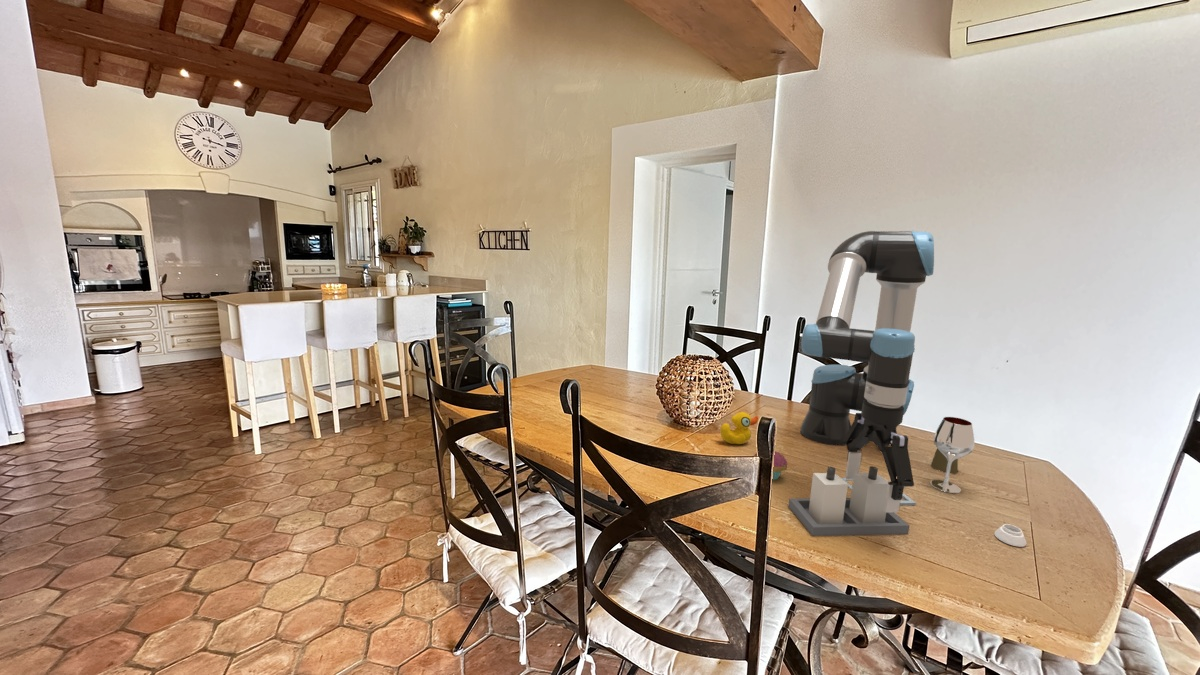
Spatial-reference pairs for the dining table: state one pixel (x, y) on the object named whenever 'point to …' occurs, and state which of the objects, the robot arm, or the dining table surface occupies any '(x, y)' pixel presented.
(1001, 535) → the white short tapered ring
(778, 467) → the cupcake
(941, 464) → the cork
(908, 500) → the square frame
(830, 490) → the white plug
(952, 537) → the dining table surface
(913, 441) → the dining table surface
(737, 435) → the duckling
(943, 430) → the wineglass
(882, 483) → the white block with peg
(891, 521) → the two-slot grey rack
